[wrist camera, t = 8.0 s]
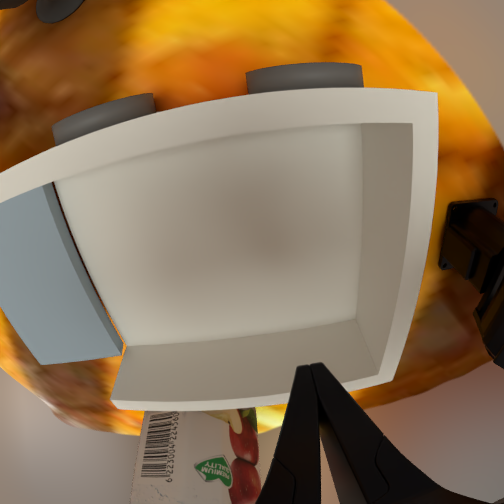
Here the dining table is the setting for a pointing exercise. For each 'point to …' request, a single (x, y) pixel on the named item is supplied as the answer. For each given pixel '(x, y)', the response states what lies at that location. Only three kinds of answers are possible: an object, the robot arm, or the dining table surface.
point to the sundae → (47, 8)
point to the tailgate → (49, 284)
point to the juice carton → (197, 458)
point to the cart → (250, 231)
